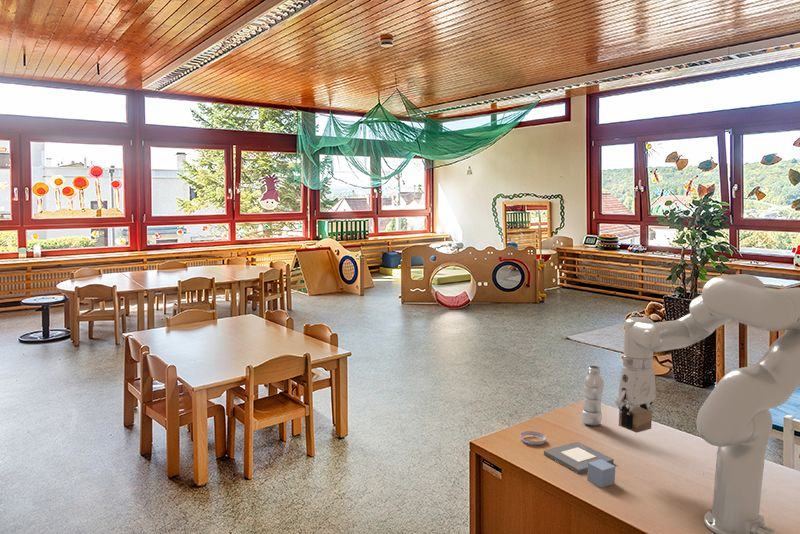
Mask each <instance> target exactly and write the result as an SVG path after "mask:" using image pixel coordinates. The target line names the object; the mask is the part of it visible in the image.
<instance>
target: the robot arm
mask: <svg viewBox="0 0 800 534" xmlns="http://www.w3.org/2000/svg"><path fill="white" fill-rule="evenodd" d="M688 309H689V313H688V314H686V315H683V316H682V317H680V318H678V319H675V320H674V319H673V320H668V321H667V320H666V321H657V322H655V321H653V320H652V319H651V318H648V317H643V316H632V317H628V318H627V319H626V320H625V321H624V332H623V333H624V334H623V335H624V336H623V337H624V339H623V354H622V355H623V358H622V359H623V360H622V363H623V365H622V368H621V373H620V379H619V386H618V397H617V399H616V400H615V405H616V406H617V407H618V409H620V412H621V413H622V421H621V425H622V426H623V427H626V428H628V429H632V420H633V415H631V413H632V409H633V406H639V407H641V408H644V409H647V410H650V411H651V408H652V407H651V406H652V405H653V402H654V401H655V400H656V397H657V394H656V388H657V387H656V374H655V368H654V366H653V365H654V364H653V360H654V359H653V358H654V352H655V353H656V352H657V353H659V352H664V351H665V352H666V351H671V350H672V351H673V350H678V349H683V348H688V347H689V346H692V345H694V344H696V343H697V342H700V341H702V340H704V339H706V338H707V337H710V335H712V334H713V333H714V332H715V331H716V329H717V328H720V327H721V326H724V325H725V324H727V323H729V322H731V321H735V322H737V323H739V324H743V325H746V326H749V327H752V328H755V329H757V330H762V331H766V332H782V331H784V332H783V333H782V334H781V335H780V336H779V337H778V338H777V339H776V340H775V341H773V343H772V344H771V345H770V346H769V348H768V349H767V351H766V352H765V353H764V354H763V356H762V357H761V359H760V360H758V362H756V363H753V364H752V365H748V366H744V367H740V368H739V367H738V368H735V369H732V370H730V371H729V372H727V373H726V374H725V375H724V376H722V377H721V379H720V380H719V381H718V383H717V384H716V385H715V387H714V388H713V389H712V391H711V392H710V394H709V395H708V396H707V397H706V399H705V401H704V402H703V404H701V407H700V408H699V410H698V413H697V416H696V420H695V421H696V428H697V429H696V430H697V431H698V434H699V436H700V438H702V440H704V441H705V442H706V443H707V444H709V445H712V446H715V447H717V451H716V461H715V473H714V487H713V494H712V495H713V497H712V506H711V507H712V509H711V510H709V511H707V512H705V513H704V517H703V522H704V524H705V526H706V527H707V528H708V529H709V530H710V531H711V532H713V533H715V534H776V533H775V532H776V529H775V528H772V527H770V526H767V525H766V524H765V523H764V521H765V517H764V516H763V515H760V510H761V509H760V508H761V501H762V500H761V499H762V491H763V490H762V488H763V487H762V486H763V478H764V477H763V476H764V469H765V468H764V467H765V458H766V452H767V446H768V443H769V441H770V438H771V434H772V430H773V416H772V413H771V412H770V410H771V409H775V408H777V407H780V406H783V405H784V404H785V403H787V402H788V401H789V400H790V398H791V397H792V396H793V394H794V393H795V391H796V390H798V388H799V387H800V287H789V288H787V287H786V288H781V289H780V288H779V289H767V288H766V285H765V284H764V283H763V281H762V280H761V279H760V278H758V277H756V276H755V275H751V274H748V273H747V274H746V273H737V274H736V273H735V274H724V275H718V276H714V277H712V278H711V279H709V280H708V281H707V282H705V284H704V286H703V288H702V290H701V294H700V295H698V296H696V297H695V298H693V299H692V300H691V302H690V303H689V308H688ZM627 405H628V406H629V407H628V409H627ZM623 427H622V428H623ZM626 428H625V429H626ZM628 429H627V430H628Z"/></svg>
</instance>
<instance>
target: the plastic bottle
mask: <svg viewBox="0 0 800 534" xmlns="http://www.w3.org/2000/svg"><path fill="white" fill-rule="evenodd" d="M587 372H588V374H587V375H586V377H584V379H583V390H584V391H583V392H584V398H583V407H582V410H581V411H582V412H581V416H580V417H581V421H582V422H583V424H585V425H588V426H599V425H600V424H601V422H602V420H603V415H602V414H603V413H602V403H601V402H602V396H603V395H602V394H603V390H604V387H605V386H604V385H605V383H604V380H603V378H602V376H601V375H600V374H601V368H600V367H599V366H598V365H590V366H588V370H587Z"/></svg>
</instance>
